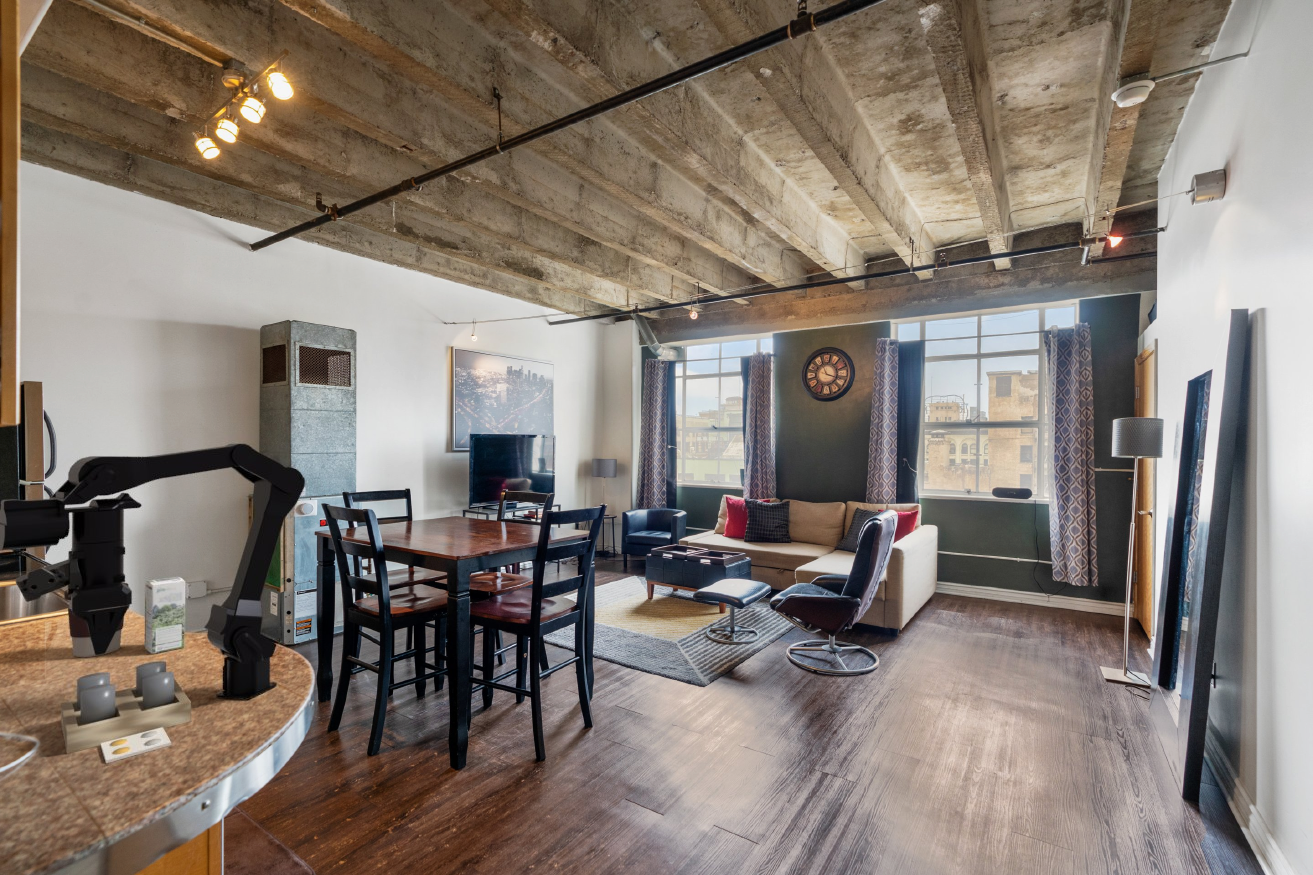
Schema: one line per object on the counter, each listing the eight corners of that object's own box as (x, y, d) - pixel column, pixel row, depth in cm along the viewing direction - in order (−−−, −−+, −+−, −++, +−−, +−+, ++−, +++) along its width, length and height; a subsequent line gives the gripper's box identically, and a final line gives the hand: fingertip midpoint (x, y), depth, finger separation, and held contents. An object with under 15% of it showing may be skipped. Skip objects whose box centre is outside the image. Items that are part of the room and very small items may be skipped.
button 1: (108, 696, 100) (108, 670, 100) (111, 703, 97) (111, 676, 97) (76, 703, 97) (76, 677, 97) (77, 710, 94) (77, 683, 94)
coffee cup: (90, 661, 124) (90, 585, 124) (50, 658, 126) (51, 583, 126) (140, 645, 134) (140, 575, 134) (103, 643, 136) (103, 573, 136)
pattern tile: (162, 729, 94) (162, 725, 94) (171, 745, 89) (171, 741, 89) (100, 745, 89) (100, 742, 89) (105, 763, 84) (105, 759, 84)
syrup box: (177, 642, 136) (177, 575, 136) (185, 647, 132) (185, 579, 133) (144, 649, 132) (144, 580, 132) (151, 655, 128) (151, 583, 128)
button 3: (164, 684, 105) (164, 659, 105) (168, 690, 102) (168, 664, 102) (134, 690, 102) (134, 665, 102) (137, 697, 99) (138, 671, 99)
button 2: (113, 709, 95) (113, 682, 95) (116, 716, 92) (116, 688, 92) (79, 717, 92) (79, 689, 92) (81, 725, 89) (81, 696, 89)
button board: (174, 696, 107) (174, 678, 107) (190, 721, 97) (190, 701, 97) (61, 722, 97) (61, 703, 97) (66, 753, 87) (66, 731, 87)
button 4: (171, 695, 100) (171, 669, 100) (176, 702, 97) (176, 675, 97) (140, 702, 97) (141, 676, 97) (144, 710, 94) (144, 682, 94)
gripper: (21, 540, 94) (21, 645, 93) (19, 556, 80) (18, 678, 80) (119, 532, 101) (119, 629, 101) (132, 545, 88) (132, 657, 88)
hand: (97, 647), depth 92 cm, fingers open, 8 cm apart
